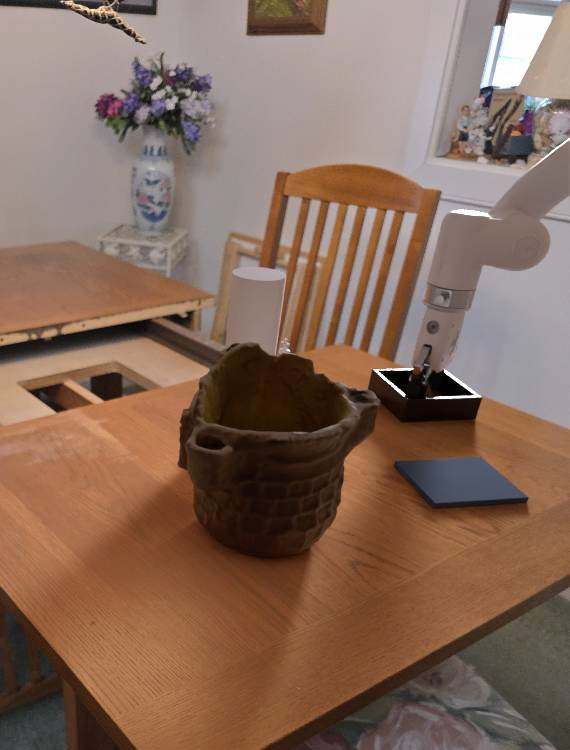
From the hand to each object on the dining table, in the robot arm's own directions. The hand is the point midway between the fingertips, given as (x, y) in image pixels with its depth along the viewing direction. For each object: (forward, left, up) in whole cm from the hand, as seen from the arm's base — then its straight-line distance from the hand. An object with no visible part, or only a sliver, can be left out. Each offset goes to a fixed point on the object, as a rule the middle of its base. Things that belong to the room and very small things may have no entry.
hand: (421, 397), depth 122 cm
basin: (0, 0, -1) cm, 1 cm away
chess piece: (+24, -6, -2) cm, 25 cm away
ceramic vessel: (+41, +36, -2) cm, 55 cm away
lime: (0, 0, -2) cm, 2 cm away
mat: (+8, +27, -1) cm, 28 cm away
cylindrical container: (+36, +12, -2) cm, 38 cm away
